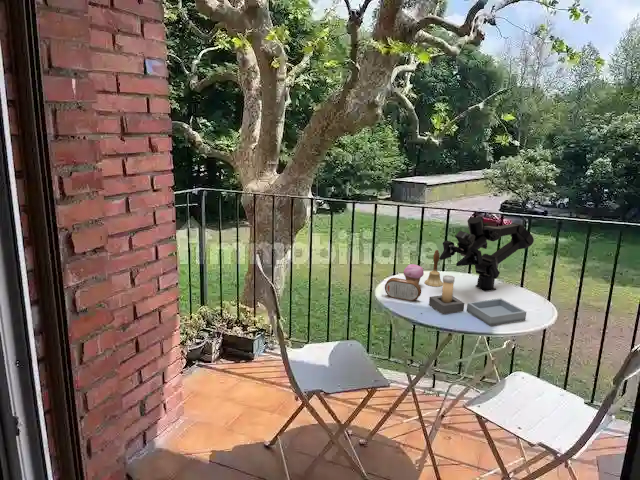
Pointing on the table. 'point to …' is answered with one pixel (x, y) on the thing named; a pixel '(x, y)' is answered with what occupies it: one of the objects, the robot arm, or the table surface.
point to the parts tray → (496, 312)
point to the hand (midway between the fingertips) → (447, 261)
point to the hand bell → (434, 273)
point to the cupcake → (413, 272)
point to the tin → (403, 289)
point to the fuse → (447, 288)
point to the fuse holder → (446, 305)
